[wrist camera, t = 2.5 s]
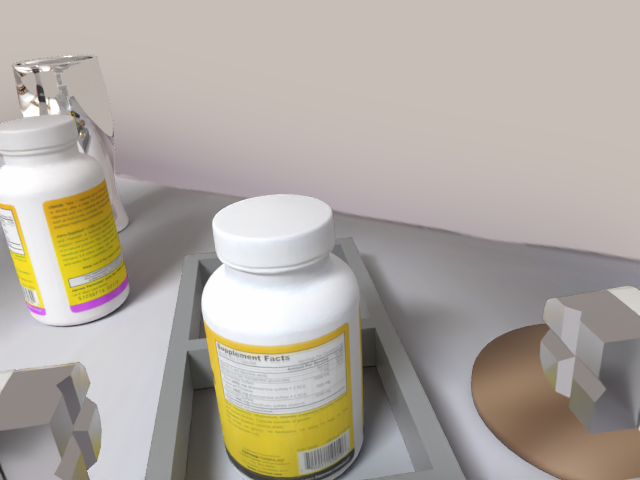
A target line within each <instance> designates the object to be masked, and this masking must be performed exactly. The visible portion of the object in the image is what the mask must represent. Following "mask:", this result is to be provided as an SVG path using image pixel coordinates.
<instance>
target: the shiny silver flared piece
mask: <svg viewBox="0 0 640 480" xmlns="http://www.w3.org/2000/svg"><path fill="white" fill-rule="evenodd" d="M12 68H13V72H14V77H15V83H16V89H17V94H18V100H19V104H20V109H21V113H22V117H23V118H25V117H32V116H41V115H55V114H57V115H70V116H73V117H74V119H75V122H76V126H77V130H78V136H77V138H78V141H77V142H76V143H77V147H78V150H79V152H81V153H85V154H88V155H90V156H92V157H93V158H95V159H96V160H97V161H98V162H99V163H100V165H101V166H102V169H103V172H104V176H105V180H106V185H107V189H108V194H109V198H110V202H111V207H112V211H113V215H114V220H115V224H116V228H117V233H118V232H120V231H122V230H123V229H124V228H125V227H126V226H127V225H128V223H129V220H128V217H127V214H126V212H125V209H124V207H123V205H122V202H121V200H120V197H119V194H118V190H117V185H116V178H115V158H114V156H115V155H114V131H113V120H112V114H111V109H110V103H109V99H108V95H107V91H106V87H105V84H104V81H103V77H102V74H101V70H100V67H99V63H98V59H97V56H95V55H71V56H57V57H47V58H39V59H32V60H25V61H20V62H16V63H13V64H12Z"/></svg>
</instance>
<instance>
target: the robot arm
mask: <svg viewBox="0 0 640 480" xmlns="http://www.w3.org/2000/svg"><path fill="white" fill-rule="evenodd" d="M543 321H544V322H545V323H546V324H547V326H548V327H549V328H550V329H549V331H548V332H547V333H546V335H545V336H544V337H543V338H542V340H541V345H540V360H541V364H542V369H543V372H544V374H545V376H546V379H547V381H548V382H549V384H550V385H551V386H552V388H553V389H554V390H555V391H556V392H558V393H560V394H562V395H565V396H567V397H569V398H570V402H569V409H570V410H571V411H572V412H573V414H574V415H575V416H576V417H577V419H578V420H579V421H580V422H581V423H582V425H583V426H584V427H585V428H586V430H587V431H588V432H589V433H590V434H597V433H604V432H612V431H619V430H627V429H634V428H639V431H640V290H638V289H637V288H635V287H631V286H623V287H617V288H611V289H605V290H601V291H595V292H589V293H583V294H576V295H570V296H564V297H558V298H552V299H548V300H547V302H546V304H545V307H544V313H543ZM89 385H90V380H89V377H88V374H87V371H86V368H85V366H83V365H82V364H81V363H80V362H77V363H68V364H60V365H51V366H43V367H34V368H26V369H19V370H8V371H1V372H0V480H90V479H89V476H88V472H87V470H88V469H89V468H90V467H91V466H92V465H94V464H95V463H96V462H97V459H98V455H99V452H100V448H101V432H102V430H101V422H100V415H99V412H98V408H97V405H96V404H95V403H94V402H92V401H91V400H90V399H88V398H87V397H86V394H87V391H88V388H89ZM628 480H640V478H634V479H628Z"/></svg>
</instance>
